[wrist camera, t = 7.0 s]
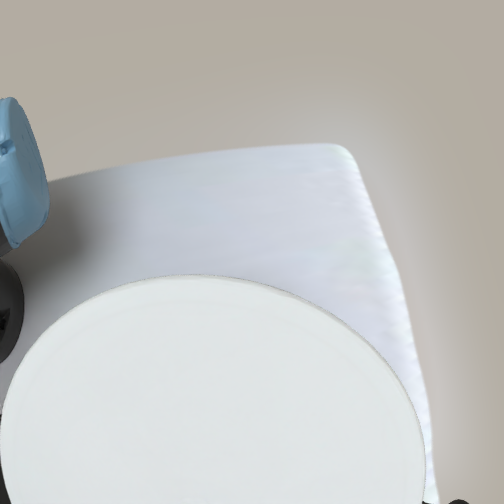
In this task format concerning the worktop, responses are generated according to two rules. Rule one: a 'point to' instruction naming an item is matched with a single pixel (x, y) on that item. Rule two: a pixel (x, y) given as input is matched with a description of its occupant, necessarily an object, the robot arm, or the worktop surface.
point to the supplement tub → (207, 403)
